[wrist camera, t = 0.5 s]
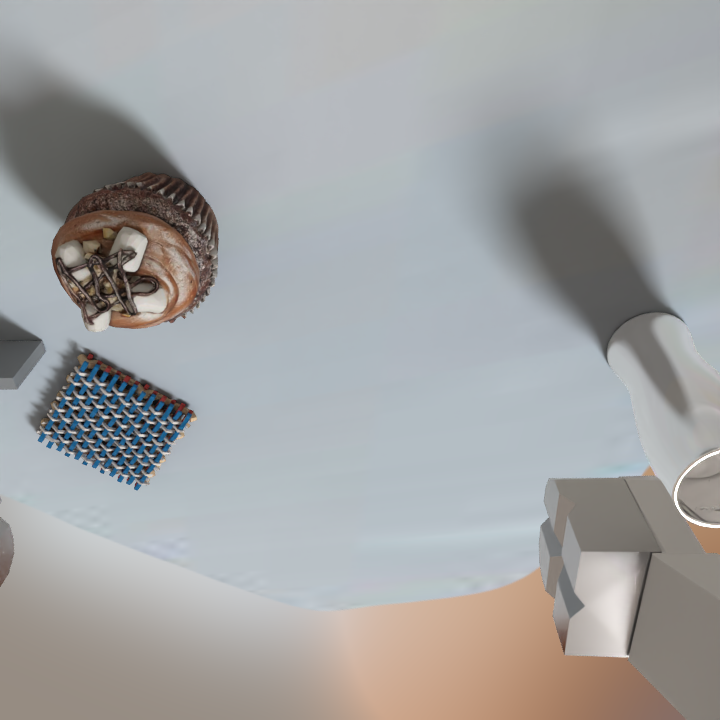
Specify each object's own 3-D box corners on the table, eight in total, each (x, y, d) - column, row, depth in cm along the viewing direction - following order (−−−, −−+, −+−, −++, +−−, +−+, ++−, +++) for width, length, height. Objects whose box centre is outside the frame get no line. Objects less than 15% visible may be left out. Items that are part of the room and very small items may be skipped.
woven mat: (36, 428, 58) (26, 443, 57) (85, 343, 53) (75, 357, 52) (147, 482, 62) (141, 498, 60) (204, 407, 57) (198, 422, 55)
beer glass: (584, 372, 53) (646, 517, 41) (626, 295, 49) (709, 429, 37) (666, 393, 54) (752, 541, 41) (714, 319, 50) (824, 457, 38)
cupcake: (141, 307, 51) (93, 386, 43) (62, 190, 46) (-9, 253, 38) (255, 263, 49) (229, 338, 40) (185, 135, 44) (139, 190, 36)
